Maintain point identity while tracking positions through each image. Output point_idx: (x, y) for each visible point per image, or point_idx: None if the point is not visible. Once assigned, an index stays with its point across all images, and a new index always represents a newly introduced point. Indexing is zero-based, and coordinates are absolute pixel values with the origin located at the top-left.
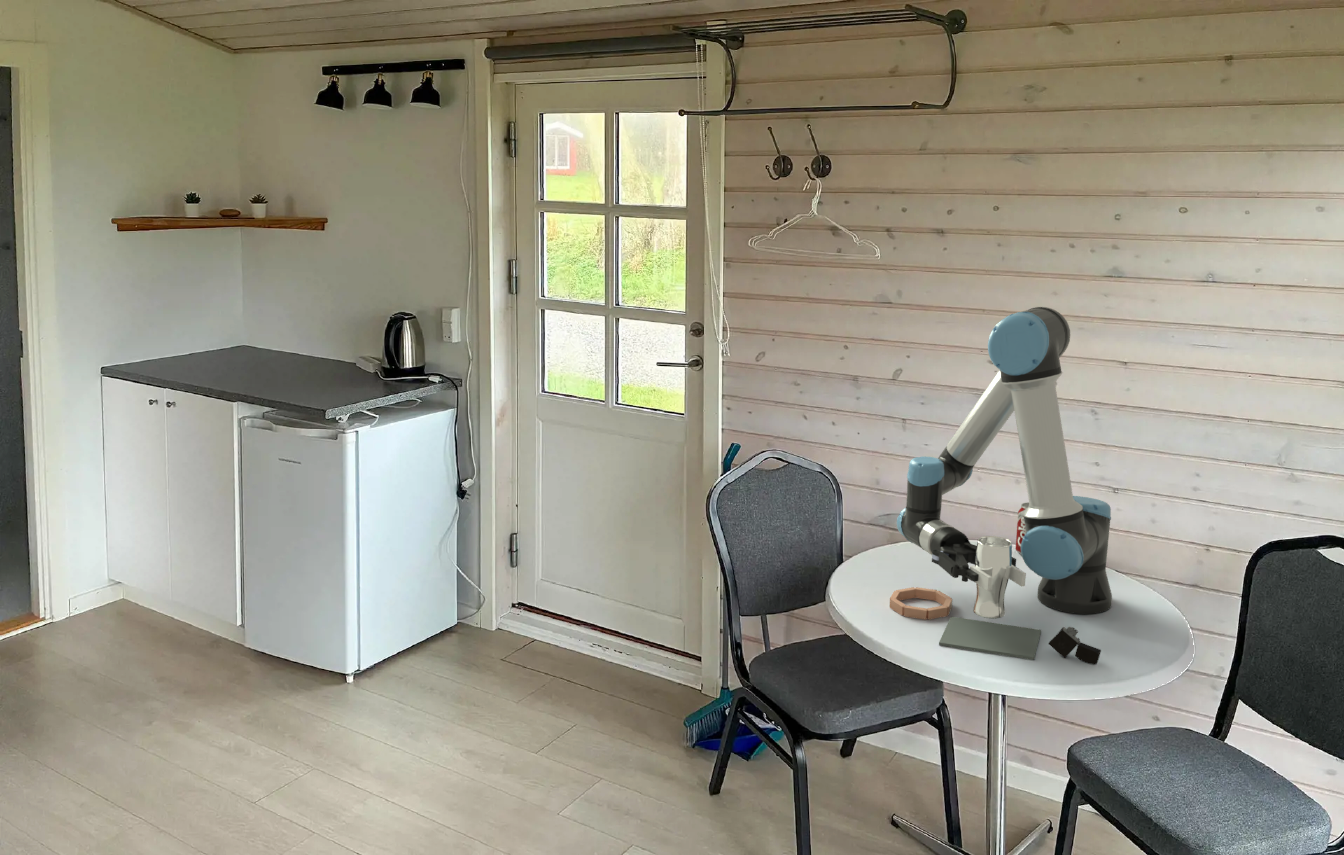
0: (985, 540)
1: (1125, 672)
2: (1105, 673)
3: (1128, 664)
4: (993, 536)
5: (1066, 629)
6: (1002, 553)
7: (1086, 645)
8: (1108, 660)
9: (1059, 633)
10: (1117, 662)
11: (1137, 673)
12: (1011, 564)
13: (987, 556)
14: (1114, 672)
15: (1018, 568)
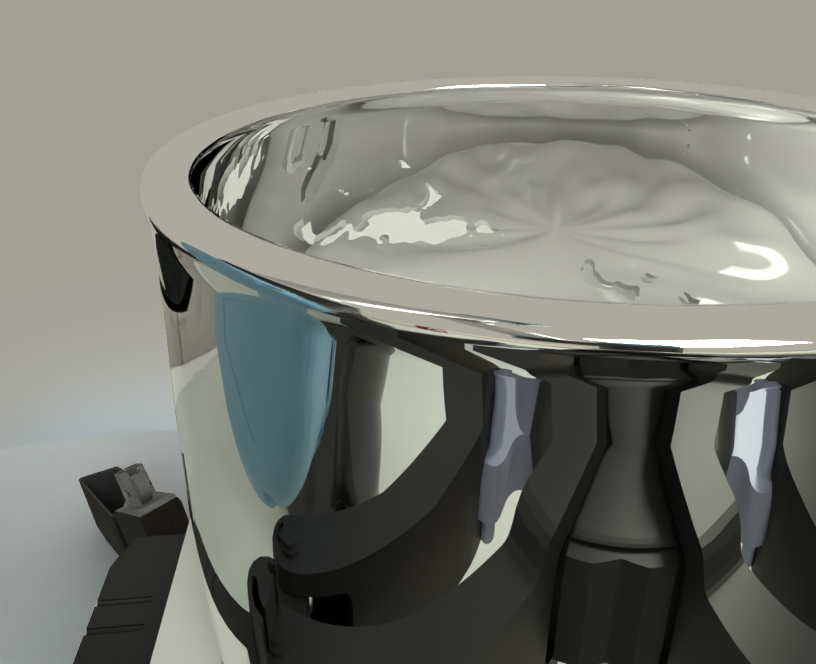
0: (763, 463)
1: (88, 453)
2: (161, 458)
3: (6, 495)
4: (428, 285)
5: (141, 509)
6: (501, 176)
7: (103, 507)
8: (37, 534)
9: (187, 521)
10: (25, 514)
11: (58, 442)
12: (172, 587)
13: (709, 257)
14: (123, 459)
15: (106, 581)
